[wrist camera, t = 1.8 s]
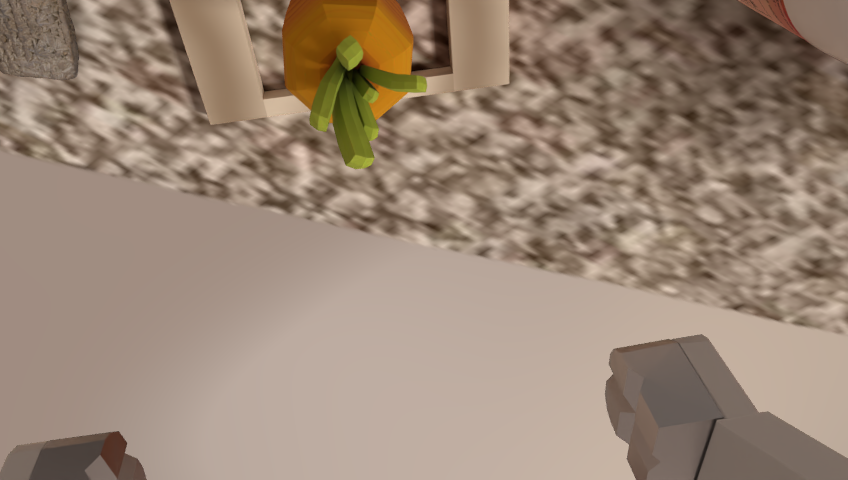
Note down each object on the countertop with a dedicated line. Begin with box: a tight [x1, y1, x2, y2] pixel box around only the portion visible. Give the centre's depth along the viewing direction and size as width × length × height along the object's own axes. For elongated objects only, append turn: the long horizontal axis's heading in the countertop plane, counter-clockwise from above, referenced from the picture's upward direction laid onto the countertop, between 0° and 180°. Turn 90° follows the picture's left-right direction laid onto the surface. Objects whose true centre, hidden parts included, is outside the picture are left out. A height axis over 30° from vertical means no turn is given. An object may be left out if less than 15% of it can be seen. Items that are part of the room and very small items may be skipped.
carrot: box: [282, 0, 427, 169], centre depth 25 cm, size 5×5×15 cm
